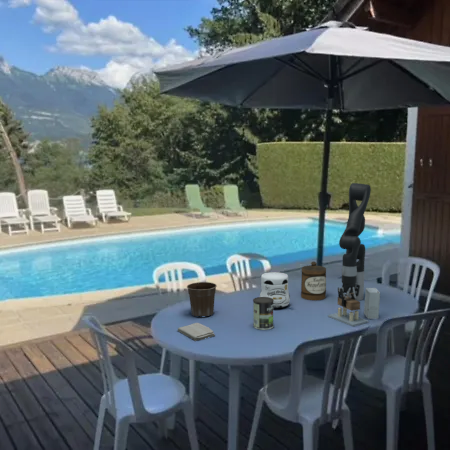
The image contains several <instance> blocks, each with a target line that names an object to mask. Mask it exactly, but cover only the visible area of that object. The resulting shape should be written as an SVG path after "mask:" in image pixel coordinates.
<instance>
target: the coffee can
mask: <svg viewBox="0 0 450 450" xmlns="http://www.w3.org/2000/svg"><path fill="white" fill-rule="evenodd" d="M273 301H274V300H273V299H272V298H269V297H260V296H258V297H254V298H253V299H252V302H253V306H252V307H253V311H252V312H253V319H252V321H253V328H254V329H257V330H260V331H261V330H262V331H265V330H271V329H273V328H274V308H273Z"/></svg>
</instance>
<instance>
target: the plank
mask: <svg viewBox="0 0 450 450" xmlns="http://www.w3.org/2000/svg"><path fill="white" fill-rule="evenodd" d="M344 297H345V295H344ZM337 305H339V306H340V307H341V308H343V306H342V299H340V298H339V296H338V297H337ZM344 308H347V310H349V311H350V312H353V311H354V312H355V311H358V310H359V311H360V310H361V301H360V300H354V299H352V298H350V297H347V298H346V307H344Z"/></svg>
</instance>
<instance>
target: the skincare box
mask: <svg viewBox="0 0 450 450" xmlns="http://www.w3.org/2000/svg"><path fill="white" fill-rule="evenodd" d="M364 294H365V295H364V307H363V308H364V309H363V315H364V316H365V317H366V318H367V320H368V319H369V320H370V319H371V320H379V316H380V315H379V313H380V300H381V299H380V298H381V292H380V291H379V290H378V289H377V288H376V287H365V290H364Z"/></svg>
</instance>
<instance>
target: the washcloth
mask: <svg viewBox="0 0 450 450" xmlns="http://www.w3.org/2000/svg"><path fill="white" fill-rule="evenodd" d="M177 332H178V333H180V334H182V335H184V336H186V337H188V338H190V339H192V340H193V341H194V342H196V341H203V340H206V339H209V338H208V337H210V338H213V337H215V336H216V334H215V333H214V330H213V329H211V328H210V327H208V326H206V325H205V324H202V323H200V322H194V323H191V324H189V325H184V326H180V327H178V328H177ZM212 336H213V337H212ZM205 338H206V339H205Z"/></svg>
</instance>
